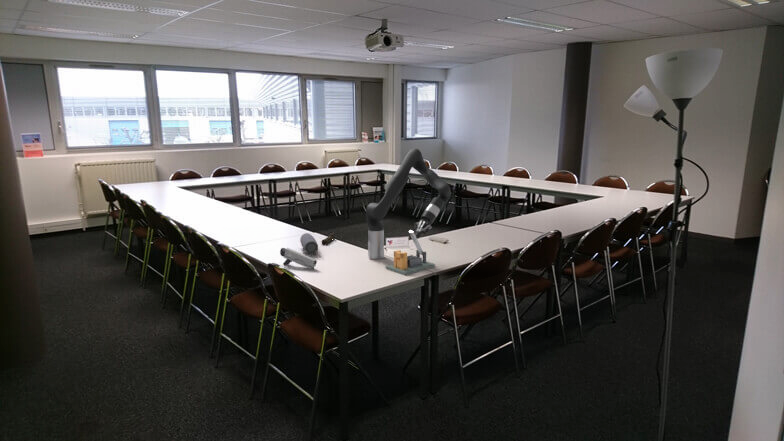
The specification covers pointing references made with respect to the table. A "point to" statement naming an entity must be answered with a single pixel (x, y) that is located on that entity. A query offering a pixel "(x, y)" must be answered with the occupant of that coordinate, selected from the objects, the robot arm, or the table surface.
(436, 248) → the table surface
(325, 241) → the hand tool
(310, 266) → the gun
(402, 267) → the tan upright block
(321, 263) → the table surface
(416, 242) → the grey rod
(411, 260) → the heat sink
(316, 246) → the bluetooth speaker
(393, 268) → the socket board
